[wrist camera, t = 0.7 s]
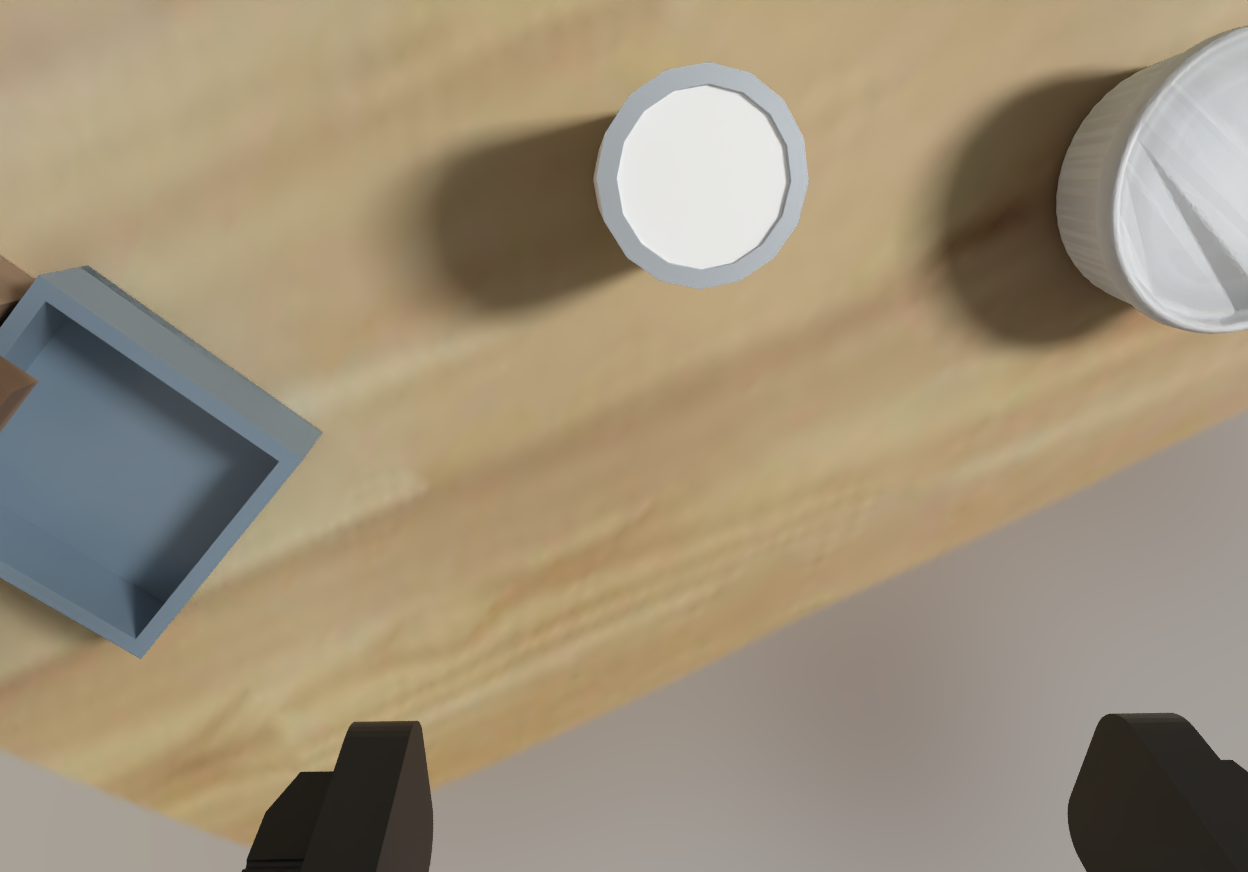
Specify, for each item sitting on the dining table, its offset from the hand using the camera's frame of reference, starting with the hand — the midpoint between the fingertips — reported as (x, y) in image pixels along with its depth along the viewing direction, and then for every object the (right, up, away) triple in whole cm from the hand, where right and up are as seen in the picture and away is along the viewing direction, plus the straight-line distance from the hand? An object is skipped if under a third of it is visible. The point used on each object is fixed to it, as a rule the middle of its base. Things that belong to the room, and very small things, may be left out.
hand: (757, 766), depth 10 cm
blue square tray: (-21, +3, +23) cm, 31 cm away
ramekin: (+21, +15, +26) cm, 37 cm away
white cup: (0, +14, +23) cm, 27 cm away
